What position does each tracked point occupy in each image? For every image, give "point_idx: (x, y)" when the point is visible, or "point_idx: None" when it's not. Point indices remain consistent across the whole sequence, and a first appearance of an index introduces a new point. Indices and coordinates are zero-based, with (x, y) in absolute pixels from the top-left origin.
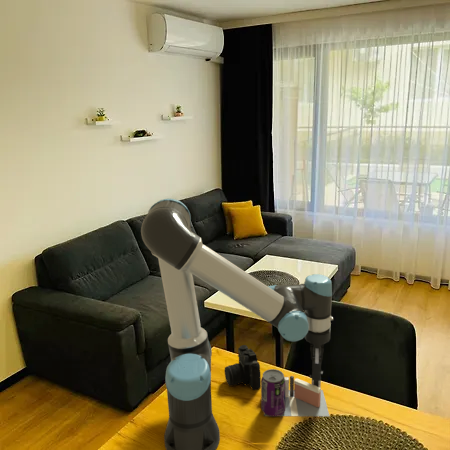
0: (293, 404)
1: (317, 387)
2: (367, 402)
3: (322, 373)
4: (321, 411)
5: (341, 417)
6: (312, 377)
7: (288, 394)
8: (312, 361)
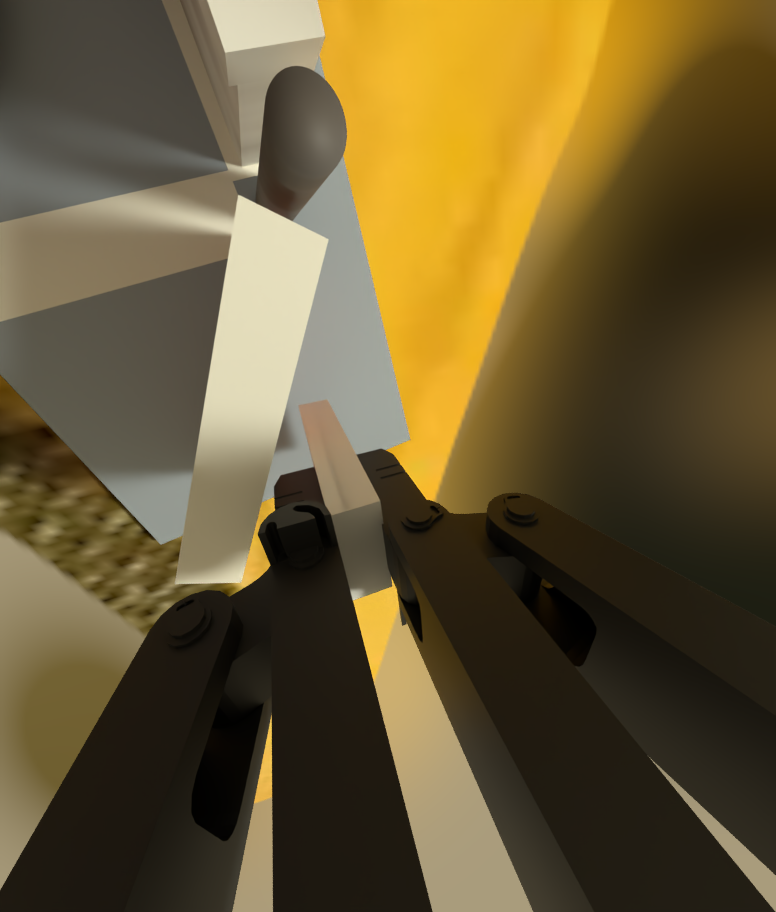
0: (128, 245)
1: (233, 554)
2: (373, 619)
3: (404, 623)
4: (181, 491)
5: (203, 585)
6: (108, 709)
7: (239, 156)
8: (595, 595)
